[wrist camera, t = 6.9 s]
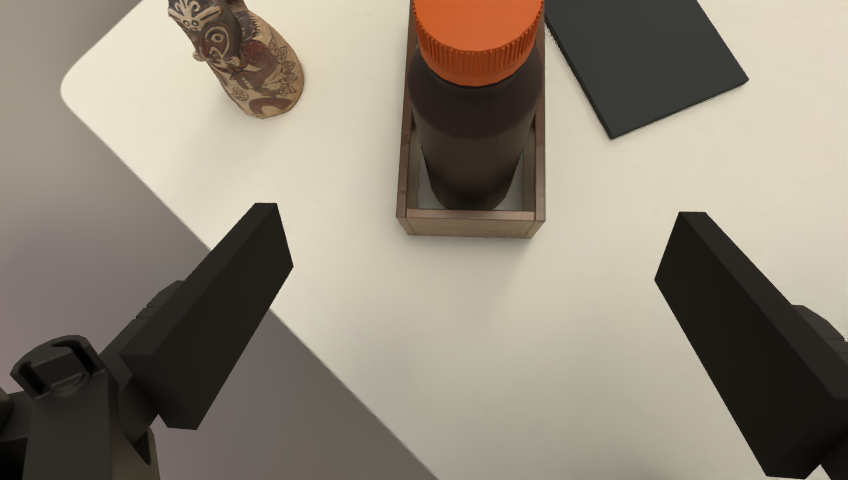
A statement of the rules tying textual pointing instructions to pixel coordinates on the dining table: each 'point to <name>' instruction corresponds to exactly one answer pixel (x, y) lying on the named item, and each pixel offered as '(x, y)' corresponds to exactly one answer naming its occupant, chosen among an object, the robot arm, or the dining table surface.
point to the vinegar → (474, 94)
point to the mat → (642, 57)
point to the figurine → (242, 54)
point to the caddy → (472, 220)
